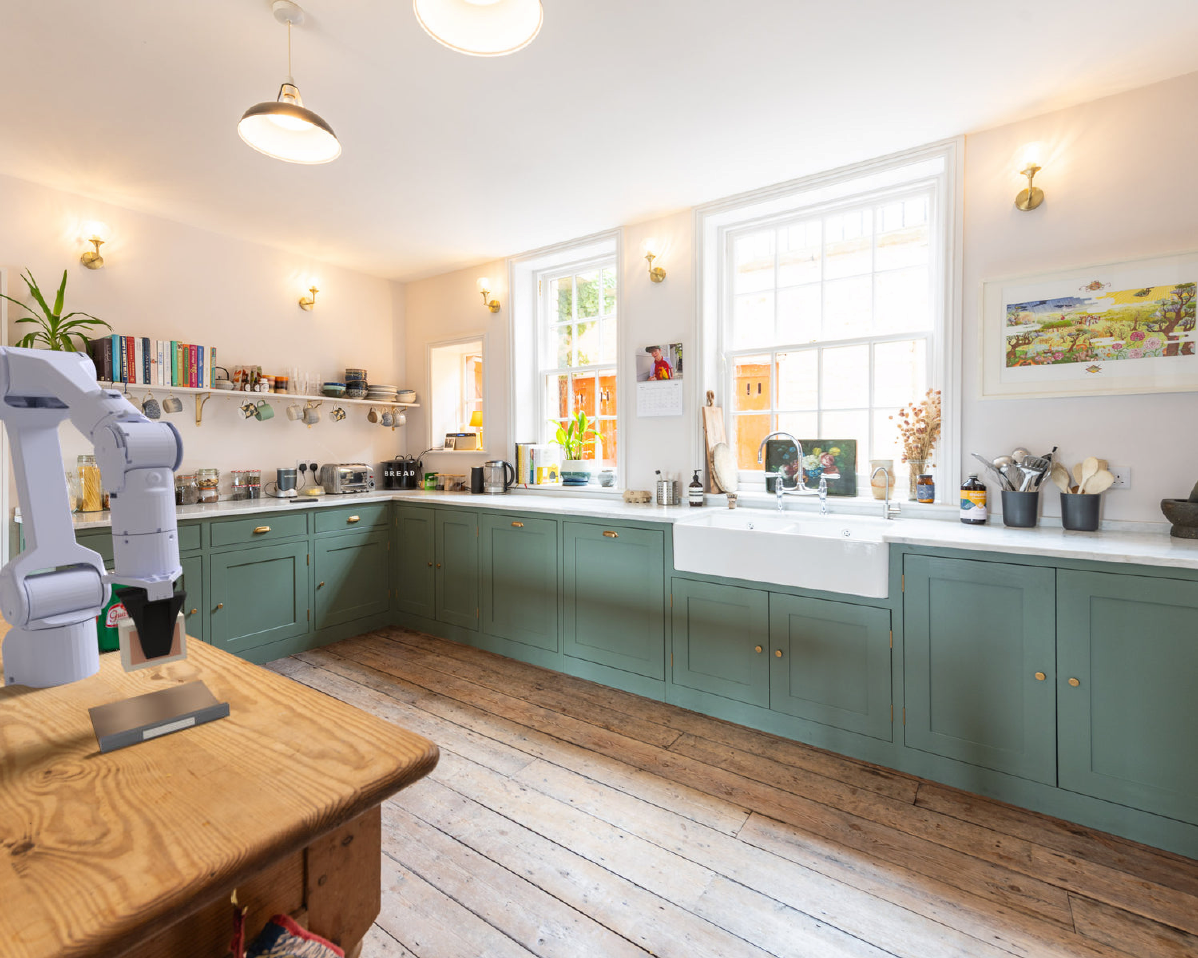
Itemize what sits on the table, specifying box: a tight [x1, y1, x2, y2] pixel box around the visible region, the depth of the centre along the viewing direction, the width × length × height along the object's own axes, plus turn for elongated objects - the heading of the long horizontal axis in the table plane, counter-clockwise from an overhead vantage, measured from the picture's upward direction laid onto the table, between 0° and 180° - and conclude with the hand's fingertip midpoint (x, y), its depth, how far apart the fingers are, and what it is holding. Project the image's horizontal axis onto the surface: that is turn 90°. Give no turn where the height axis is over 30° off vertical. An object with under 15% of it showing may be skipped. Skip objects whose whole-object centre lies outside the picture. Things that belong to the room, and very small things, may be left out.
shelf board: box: [88, 679, 231, 754], centre depth 67 cm, size 11×14×2 cm
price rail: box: [99, 701, 231, 754], centre depth 62 cm, size 11×1×1 cm, turn 135°
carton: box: [118, 610, 188, 674], centre depth 66 cm, size 6×4×5 cm, turn 135°
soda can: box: [96, 568, 132, 652], centre depth 93 cm, size 5×5×12 cm
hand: (154, 651), depth 66 cm, fingers closed on carton, 4 cm apart
